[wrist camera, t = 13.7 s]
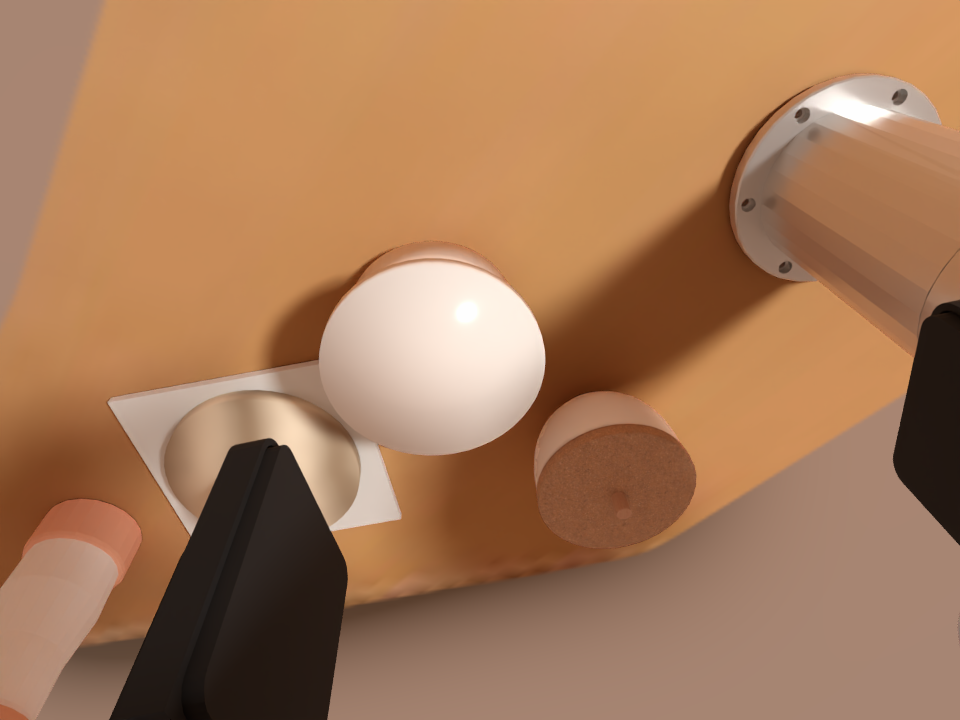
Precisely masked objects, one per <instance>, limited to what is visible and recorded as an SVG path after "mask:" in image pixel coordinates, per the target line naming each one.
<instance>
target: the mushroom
mask: <svg viewBox="0 0 960 720" xmlns="http://www.w3.org/2000/svg"><path fill="white" fill-rule="evenodd" d="M319 370H320V378H321V381H322V384H323V388H324V391H325V393H326V395H327V397H328V399H329V401H330V403H331V404H332V406H333V407H334V409H335V410H336V412H337V413H338V414H339V415H340V416H341V418H342V419H343V420H344V421H345V422H346V423H347V424H348V425H349V426H351V427H352V428H353V429H354V430H355V431H357V432H358V433H360V434H361V435H362V436H364V437H365V438H367V439H369V440H371V441H373V442H375V443H377V444H379V445H382V446H384V447H386V448H389V449H393V450H396V451H400V452H404V453H410V454H416V455H446V454H454V453H459V452H463V451H468V450H471V449H474V448H477V447H480V446H482V445H484V444H486V443H489V442H491V441H493V440H494V439H496V438H498V437H499V436H501V435H503V434H504V433H505V432H507V431H508V430H509V429H511V428H512V427H513V426H514V425H515V424H516V423H517V422H518V421H519V420H520V419H521V418H522V417H523V416H524V415H525V414H526V412H527V411H528V410H529V409H530V407H531V406H532V404H533V402H534V400H535V399H536V397H537V395H538V392H539V390H540V388H541V385H542V381H543V377H544V371H545V349H544V344H543V339H542V335H541V332H540V329H539V326H538V324H537V321H536V318H535V316H534V314H533V313H532V311H531V309H530V307H529V305H528V304H527V303H526V302H525V300H524V299H523V298H522V296H521V295H520V294H519V293H518V292H517V291H516V290H515V289H514V288H513V287H512V286H511V285H509V284H508V283H507V281H506V279H505V278H504V276H503V275H502V274H501V272H500V271H499V270H498V269H497V268H496V267H495V266H494V265H493V264H492V263H491V262H490V261H489V260H487V259H486V258H485V257H483V256H482V255H480V254H479V253H477V252H475V251H473V250H471V249H469V248H466V247H464V246H461V245H457V244H453V243H449V242H441V241H423V242H415V243H411V244H407V245H403V246H400V247H398V248H395V249H393V250H391V251H389V252H387V253H385V254H384V255H382V256H381V257H379V258H378V259H377V260H375V261H374V262H373V263H372V264H371V265H370V266H369V267H368V268H367V269H366V270H365V271H364V273H363V274H362V275H361V276H360V278H359V280H358V281H357V283H356V284H355V285H354V286H353V287H352V288H351V289H350V290H349V291H348V292H347V293H346V294H345V295H344V296H343V297H342V298H341V300H340V301H339V302H338V304H337V305H336V306H335V308H334V310H333V311H332V313H331V315H330V317H329V319H328V322H327V324H326V327H325V330H324V333H323V337H322V340H321V346H320V351H319Z"/></svg>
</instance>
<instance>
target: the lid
mask: <svg viewBox="0 0 960 720" xmlns="http://www.w3.org/2000/svg"><path fill="white" fill-rule="evenodd" d="M266 438H272V439H274V440H275V441H276V442H277V444H278V445H279V446H280V445H287V446H288V447H289V448H290V449H291V451H292V453H293V455H294V457H295V459H296V461H297V463H298V465H299V467H300V469H301V471H302V473H303V475H304V477H305V479H306V481H307V483H308V485H309V488H310V490H311V492H312V494H313V496H314V498H315V500H316V502H317V504H318V506H319V508H320V510H321V512H322V514H323V516H324V518H325V520H326V522H327V524H328V526H331V525H333V524H334V523H336V522H337V521H338V520H339V519H340V518H342V517H343V516H344V515H345V513H346V512H347V511H348V510H349V509H350V507H351V506H352V504H353V502H354V500H355V498H356V496H357V492H358V488H359V483H360V474H361V462H360V456H359V453H358V449H357V447H356V445H355V443H354V440H353V439H352V437H351V436H350V434H349V433H348V431H347V430H346V429H345V428H344V427H343V426H342V424H341V423H340V422H338V421H337V420H336V419H335V418H334V417H333V416H332V415H330V414H329V413H327V412H326V411H324V410H323V409H322V408H320V407H318V406H316V405H314V404H312V403H310V402H308V401H306V400H303V399H301V398H298V397H295V396H292V395H288V394H284V393H279V392H274V391H264V390H243V391H236V392H230V393H226V394H222V395H218V396H216V397H213V398H210V399H208V400H206V401H204V402H202V403H200V404H199V405H197V406H196V407H194V408H193V409H192V410H190V411H189V412H188V413H187V414H186V415H185V416H184V417H183V418H182V419H181V421H180V422H179V424H178V425H177V427H176V429H175V430H174V432H173V434H172V436H171V438H170V440H169V442H168V444H167V447H166V451H165V455H164V468H165V474H166V477H167V480H168V483H169V485H170V487H171V489H172V491H173V493H174V494H175V496H176V497H177V499H178V500H179V501H180V502H181V503H182V504H183V506H184V507H185V508H186V509H187V510H189V511H190V512H191V513H192V514H193V515H195V516H196V517H197V518H199V517H200V514H201V512H202V510H203V508H204V505H205V503H206V501H207V498H208V496H209V494H210V492H211V489H212V487H213V485H214V482H215V480H216V478H217V476H218V473H219V471H220V469H221V466H222V464H223V462H224V460H225V457H226V455H227V453H228V451H229V449H230V448H231V447H232V446H234V445H236V444H241V443H246V442H251V441H256V440H261V439H266Z"/></svg>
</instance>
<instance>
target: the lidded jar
mask: <svg viewBox="0 0 960 720" xmlns="http://www.w3.org/2000/svg"><path fill="white" fill-rule="evenodd" d="M534 477H535V483H536V489H537V492H536V496H537V502H538V508H539V512H540V515H541V517H542V519H543V521H544V523H545V524H546V525H547V527H548V528H549V529H550V530H551V531H552V532H553V533H554V534H556V535H557V536H559V537H560V538H562V539H564V540H566V541H568V542H570V543H572V544H575V545H579V546H583V547H588V548H599V549H607V548H618V547H624V546H629V545H632V544H636V543H639V542H642V541H644V540H647V539H649V538H651V537H653V536H655V535H657V534H659V533H660V532H662V531H663V530H665V529H666V528H668V527H669V526H670V525H671V524H673V523H674V522H675V521H676V520H677V519H678V518H679V517H680V516H681V515H682V513H683V512H684V511H685V509H686V508H687V506H688V505H689V504H690V501H691V499H692V496H693V494H694V491H695V486H696V472H695V467H694V464H693V462H692V460H691V458H690V456H689V454H688V452H687V451H686V449H685V448H684V447H683V445H682V444H681V443H680V441H679V439H678V438H677V436H676V434H675V433H674V431H673V430H672V429H671V427H670V426H669V425H668V423H667V422H666V421H665V420H664V418H663V417H662V416H661V415H660V414H659V413H658V412H656V411H655V410H654V409H653V408H652V407H651V406H649V405H648V404H646V403H644V402H643V401H641V400H639V399H638V398H636V397H633V396H630V395H628V394H624V393H619V392H613V391H597V392H589V393H585V394H581V395H579V396H576V397H574V398H573V399H571V400H569V401H568V402H566V403H565V404H563V405H562V406H561V407H559V408H558V409H557V410H556V411H555V412H554V413H553V414H552V415H551V416H550V418H549V419H548V420H547V422H546V423H545V425H544V426H543V428H542V430H541V432H540V435H539V437H538V440H537V444H536V448H535V456H534Z"/></svg>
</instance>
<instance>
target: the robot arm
mask: <svg viewBox="0 0 960 720" xmlns="http://www.w3.org/2000/svg"><path fill="white" fill-rule="evenodd" d="M797 111H798V114H797V115H796V116H795V114H796V112H797ZM745 199H746V200H745ZM744 200H745V202H744V203H742V202H743V201H744ZM729 210H730V220H731V226H732V229H733V232H734V235H735V238H736V241H737V242H738V244H739V246H740V247H741V249H742V250H743V252H744V253H745V254H746V255H747V256H748V257H749V258H750V259H751V260H752V261H753V262H754V263H755V264H756V265H757V266H759V267H760V268H761V269H763V270H764V271H766V272H767V273H769V274H771V275H773V276H776V277H778V278H781V279H786V280H791V281H797V282H810V281H819V282H820V283H822V284H823V285H824V286H825V287H827V288H828V289H829V290H830V291H831V292H833V293H834V294H835V295H836V296H838V297H839V298H840V299H841V300H843V301H844V302H845V303H846V304H848V305H849V306H850V307H851V308H853V309H854V310H855V311H856V312H858V313H859V314H860V315H861V316H863V317H864V318H865V319H866V320H868V321H869V322H870V323H871V324H873V325H874V326H875V327H876V328H878V329H879V330H880V331H881V332H883V333H884V334H885V335H886V336H888V337H889V338H890V339H891V340H892V341H894V342H895V343H896V344H897V345H899V346H900V347H901V348H902V349H904V350H905V351H906V352H907V353H909V354H910V355H911V356H912V357H914V361H913V366H912V371H911V375H910V380H909V385H908V389H907V394H906V399H905V403H904V408H903V413H902V417H901V422H900V427H899V431H898V436H897V440H896V445H895V450H894V454H893V463H894V468H895V471H896V473H897V475H898V477H899V478H900V480H901V481H902V482H903V484H904V485H905V486H906V487H907V488H908V489H909V490H910V491H911V492H912V493H913V494H914V496H915V497H916V498H917V499H918V500H919V501H920V502H921V503H922V504H923V506H924V507H925V508H926V509H927V510H928V511H929V512H930V513H931V514H932V516H934V518H935V519H936V520H937V521H938V522H939V523H940V524H941V525H942V526H943V528H944V529H945V530H946V531H947V532H948V533H949V534H950V535H951V536H952V537H953V539H954V540H955V541H956V542H957V543H958V544H959V545H960V131H958V130H955V129H952V128H948V127H945V126H942V123H941V120H940V118H939V115H938V112H937V110H936V108H935V107H934V105H933V104H932V103H931V101H930V100H929V98H928V97H927V96H926V95H925V94H924V93H923V92H921V91H920V90H919V89H918V88H916V87H915V86H914V85H912V84H910V83H907V82H905V81H902V80H900V79H897V78H895V77H890V76H885V75H881V74H866V73H856V74H851V75H845V76H840V77H835V78H833V79H830V80H827V81H825V82H822V83H820V84H817V85H815V86H813V87H811V88H809V89H808V90H806V91H804V92H803V93H801V94H799V95H797V96H796V97H794V98H793V99H792V100H790V101H789V102H788V103H787V104H785V105H784V106H783V107H782V108H780V109H779V110H778V111H777V112H776V113H775V114H774V115H773V116H772V117H771V118H770V119H769V120H768V121H767V122H766V123H765V124H764V125H763V127H762V128H761V129H760V130H759V131H758V133H757V134H756V136H755V137H754V139H753V140H752V141H751V143H750V144H749V146H748V147H747V149H746V151H745V153H744V155H743V157H742V159H741V161H740V163H739V165H738V168H737V170H736V174H735V177H734V181H733V184H732V187H731V195H730V205H729ZM347 581H348V574H347V566H346V562H345V560H344V557H343V555H342V553H341V551H340V549H339V547H338V545H337V543H336V541H335V539H334V537H333V535H332V533H331V530H330V528H329V526H328V524H327V522H326V520H325V518H324V516H323V514H322V512H321V510H320V508H319V506H318V504H317V502H316V500H315V498H314V496H313V494H312V492H311V490H310V488H309V485H308V483H307V481H306V479H305V477H304V475H303V473H302V471H301V469H300V467H299V465H298V463H297V461H296V459H295V457H294V455H293V453H292V451H291V449H290V448H289V447H288V446H287V445H280V446H279V445H278V444H277V442H276V441H275V440H274V439H272V438H266V439H261V440H256V441H251V442H246V443H241V444H236V445H234V446H232V447H231V448H230V449H229V451H228V453H227V455H226V457H225V460H224V462H223V464H222V466H221V469H220V471H219V473H218V476H217V478H216V480H215V482H214V485H213V487H212V489H211V492H210V494H209V496H208V498H207V501H206V503H205V505H204V508H203V510H202V512H201V514H200V517H199V519H198V521H197V524H196V526H195V528H194V530H193V533H192V535H191V537H190V540H189V542H188V544H187V546H186V549H185V551H184V552H183V554H182V556H181V558H180V560H179V562H178V564H177V567H176V569H175V571H174V573H173V576H172V578H171V580H170V583H169V585H168V587H167V589H166V592H165V594H164V596H163V599H162V601H161V603H160V605H159V608H158V610H157V612H156V614H155V617H154V619H153V621H152V624H151V626H150V628H149V630H148V633H147V635H146V637H145V640H144V642H143V644H142V647H141V649H140V651H139V653H138V655H137V658H136V660H135V662H134V665H133V667H132V669H131V672H130V674H129V676H128V678H127V681H126V683H125V685H124V687H123V690H122V692H121V694H120V696H119V699H118V701H117V703H116V706H115V708H114V710H113V712H112V715H111V717H110V719H109V720H327V717H328V711H329V704H330V697H331V690H332V684H333V677H334V670H335V663H336V657H337V650H338V643H339V636H340V630H341V623H342V615H343V609H344V603H345V596H346V589H347ZM958 637H959V644H960V614H959V620H958Z"/></svg>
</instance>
